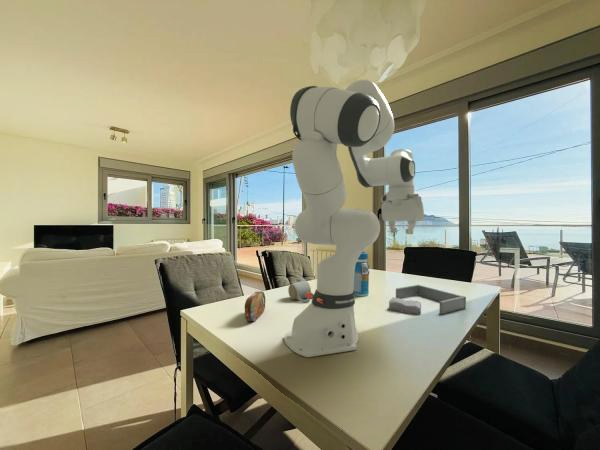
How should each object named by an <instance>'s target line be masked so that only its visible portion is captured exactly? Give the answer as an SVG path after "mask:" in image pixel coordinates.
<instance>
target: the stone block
mask: <svg viewBox="0 0 600 450" xmlns="http://www.w3.org/2000/svg"><path fill="white" fill-rule="evenodd" d="M388 303H389V304H388V309H389V310H390V311H395V312H401V313H406V314H407V313H408V314H413V315H421V314H422V311H421V310H422V303H421V302H420V301H418V300H405V299H403V298H400V299H399V298H396V297H392V298H391V299H389V302H388Z"/></svg>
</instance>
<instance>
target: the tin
mask: <svg viewBox="0 0 600 450" xmlns="http://www.w3.org/2000/svg"><path fill="white" fill-rule="evenodd" d="M265 309H266V295H265V292H264V291H255V292H254V293H252V294H250V295H249V297H248V298H246V300H245V303H244V319H245V320H246V321H248V322H256V321H257V320H258V319H259V318H260V317H261V315H263V314H264V312H265Z"/></svg>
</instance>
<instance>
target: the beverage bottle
mask: <svg viewBox="0 0 600 450" xmlns="http://www.w3.org/2000/svg"><path fill="white" fill-rule="evenodd" d="M368 255H369V254H368V252H365V251H363V252H362V253H361V255H360V256H359V258H358V260H357V262H356V265H355V271H354V284H353V290H354V292H355V297H367V296H368V295H369V294H370V292H369V288H370V287H369V286H370V285H369V282H370V270H369V268H370V266H369V263H368V261H367V260H368Z"/></svg>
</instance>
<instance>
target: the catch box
mask: <svg viewBox="0 0 600 450" xmlns="http://www.w3.org/2000/svg"><path fill="white" fill-rule="evenodd" d="M415 296H421V297H425V298H427V299H432V300H434V301H438V302H439V314H441V315H443V314H444V315H445V314H447V313H451V312H455V311H459V310H462V309H466V308H467V307H466V306H467V305H466V304H467V303H466V302H467V297H466V296H463V295H460V294H455V293H452V292H448V291H444V290H440V289H437V288H432V287H429V286H425V285H421V284H415V285H410V286H404V287H398V288H397V287H396V288H395V298H399V299H405V298H410V297H415Z"/></svg>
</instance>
